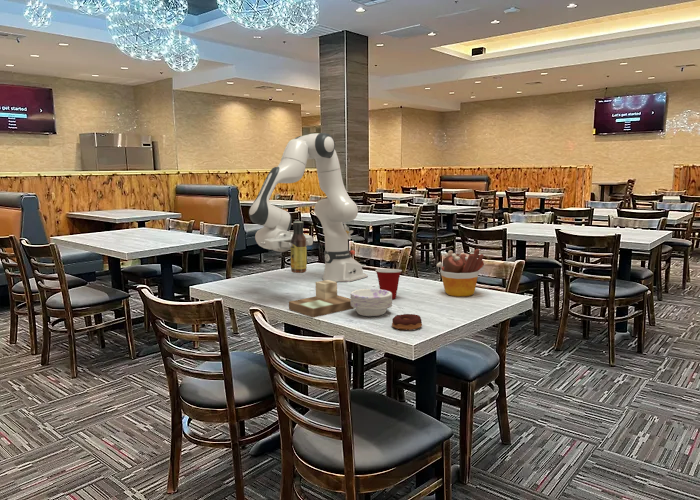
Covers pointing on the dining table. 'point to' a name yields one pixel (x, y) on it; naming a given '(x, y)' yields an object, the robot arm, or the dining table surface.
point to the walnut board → (320, 306)
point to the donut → (407, 322)
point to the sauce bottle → (298, 249)
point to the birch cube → (326, 289)
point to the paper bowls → (371, 301)
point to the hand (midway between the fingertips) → (299, 244)
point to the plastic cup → (389, 280)
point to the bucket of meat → (460, 273)
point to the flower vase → (346, 231)
